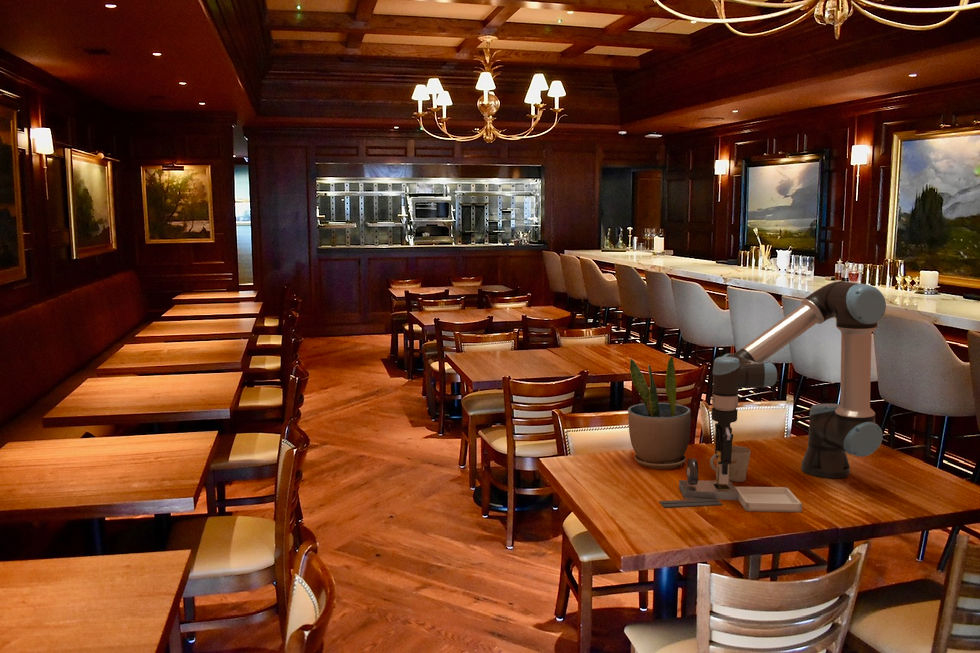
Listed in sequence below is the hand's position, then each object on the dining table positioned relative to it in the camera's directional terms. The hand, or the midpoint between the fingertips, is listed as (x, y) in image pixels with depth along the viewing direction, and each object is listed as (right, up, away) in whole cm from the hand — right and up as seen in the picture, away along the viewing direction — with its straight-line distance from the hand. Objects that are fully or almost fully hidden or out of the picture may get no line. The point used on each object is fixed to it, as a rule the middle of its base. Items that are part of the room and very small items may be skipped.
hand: (722, 481), depth 246 cm
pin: (0, -4, +1) cm, 4 cm away
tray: (+11, -5, -7) cm, 14 cm away
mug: (+7, -2, +15) cm, 17 cm away
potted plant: (-13, 0, +31) cm, 34 cm away
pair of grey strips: (-12, -5, -8) cm, 15 cm away
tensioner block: (-4, -4, +1) cm, 6 cm away
